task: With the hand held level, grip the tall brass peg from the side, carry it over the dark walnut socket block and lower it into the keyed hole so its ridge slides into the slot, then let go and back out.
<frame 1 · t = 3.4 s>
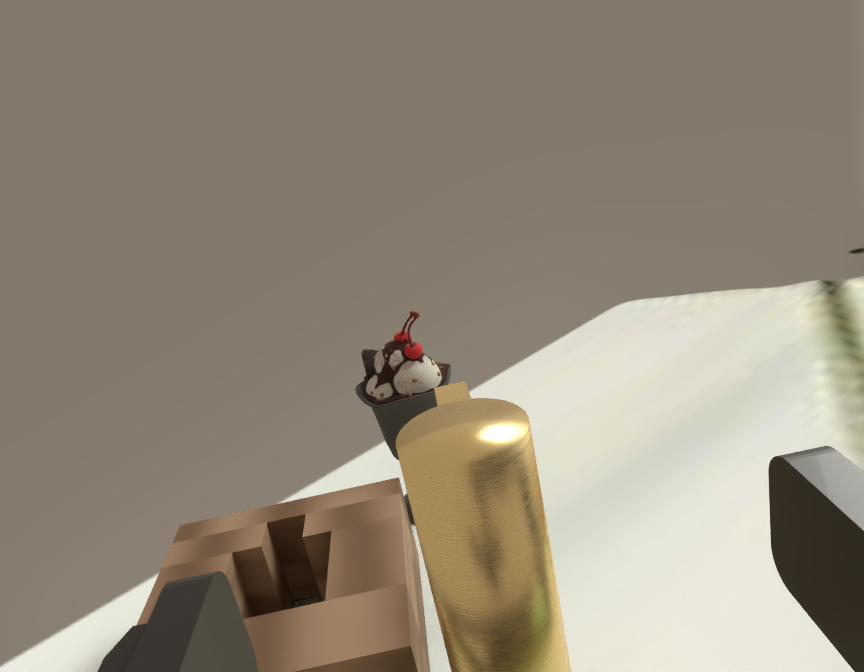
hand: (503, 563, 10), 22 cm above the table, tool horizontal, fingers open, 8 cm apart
walnut socket block: (304, 660, 39), on the table
sundae: (433, 505, 51), on the table
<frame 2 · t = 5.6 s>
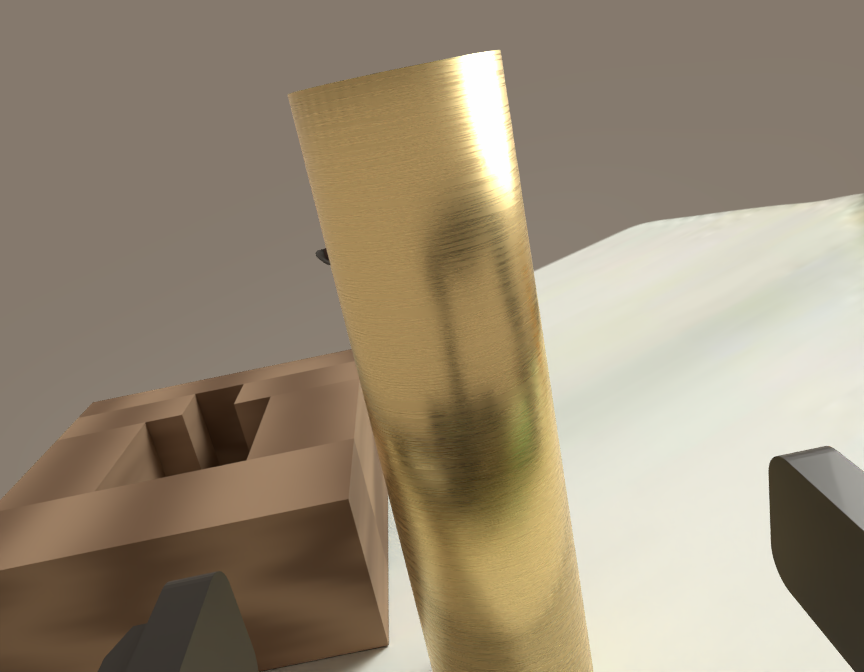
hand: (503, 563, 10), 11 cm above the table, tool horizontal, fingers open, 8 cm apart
walnut socket block: (232, 558, 31), on the table
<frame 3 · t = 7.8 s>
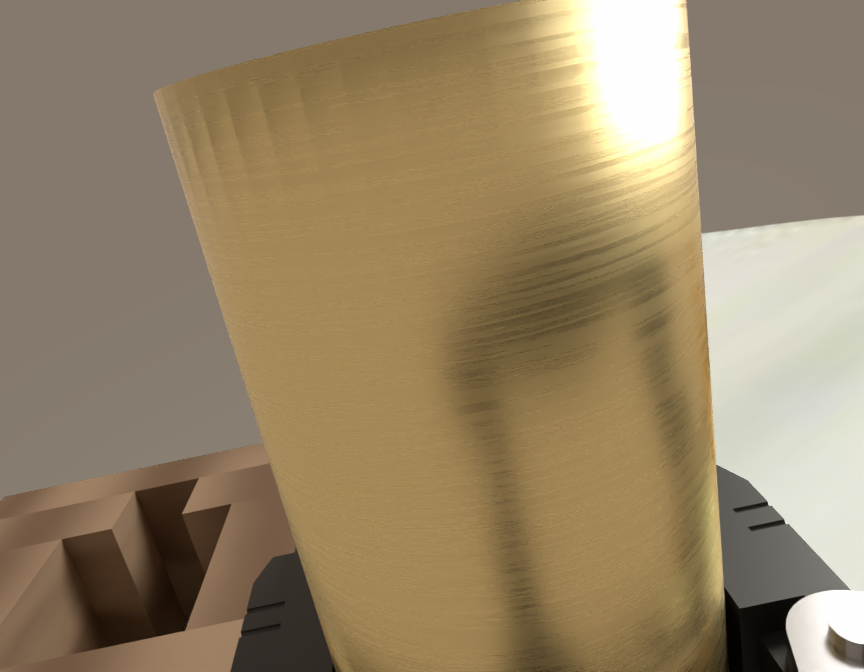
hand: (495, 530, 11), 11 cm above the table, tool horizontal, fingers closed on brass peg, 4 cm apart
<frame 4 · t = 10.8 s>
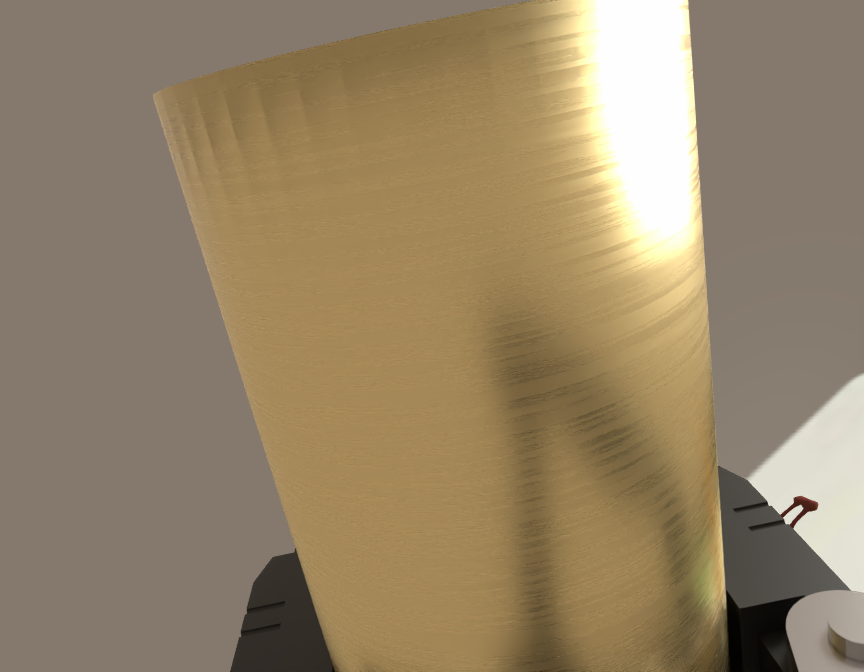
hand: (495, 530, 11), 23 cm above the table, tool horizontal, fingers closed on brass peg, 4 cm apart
when the fingers open (12 cm above the table, at t = 13.7 s): brass peg drops 1 cm, resting in walnut socket block.
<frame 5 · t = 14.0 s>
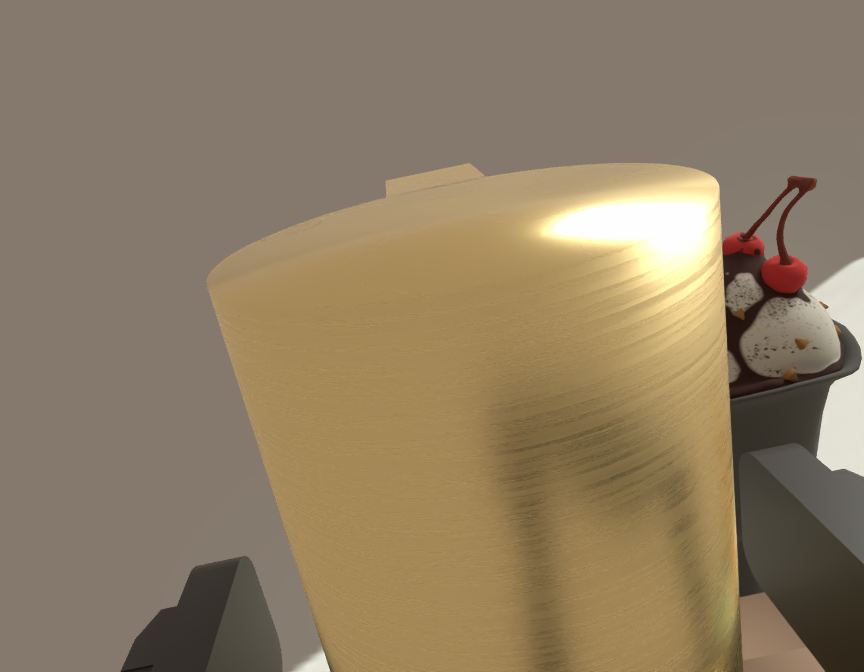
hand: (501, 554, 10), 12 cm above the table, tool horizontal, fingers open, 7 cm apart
sundae: (746, 613, 24), on the table
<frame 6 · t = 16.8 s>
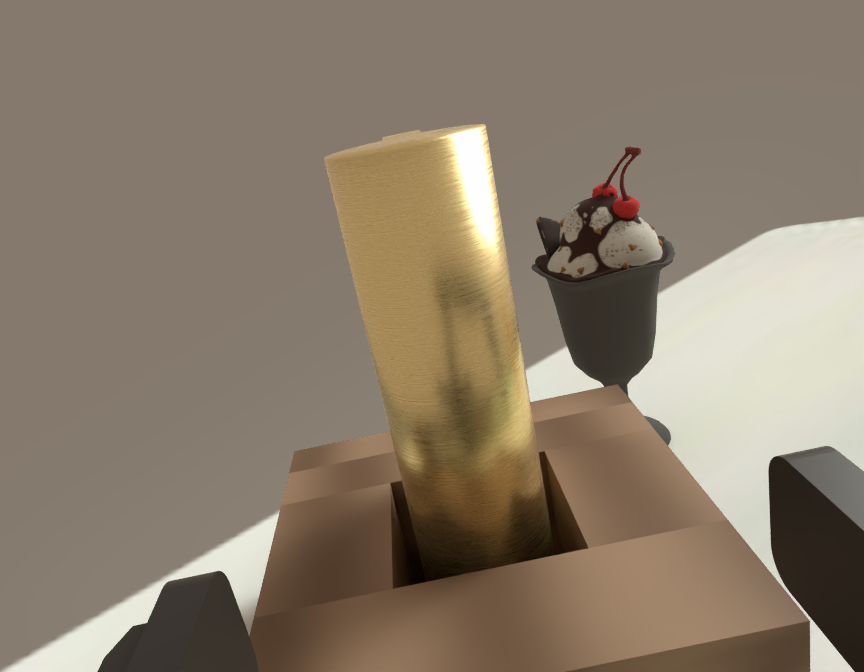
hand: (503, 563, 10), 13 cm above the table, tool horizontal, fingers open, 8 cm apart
walnut socket block: (506, 651, 25), on the table
brass peg: (508, 655, 25), resting in walnut socket block
sundae: (622, 442, 37), on the table
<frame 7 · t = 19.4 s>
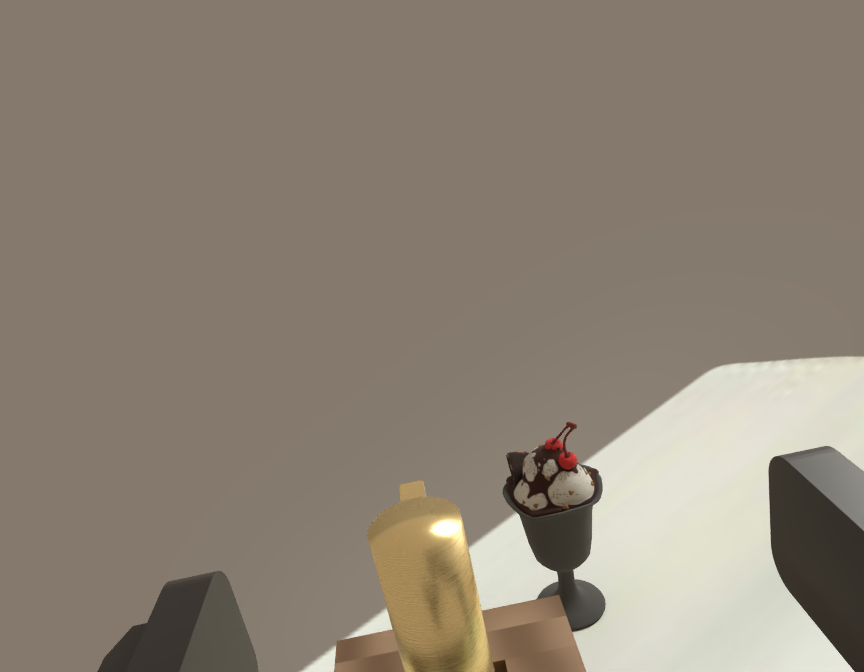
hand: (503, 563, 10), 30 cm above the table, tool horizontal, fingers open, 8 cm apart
sundae: (571, 606, 50), on the table
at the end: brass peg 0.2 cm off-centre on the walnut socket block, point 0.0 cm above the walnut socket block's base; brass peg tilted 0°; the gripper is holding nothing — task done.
